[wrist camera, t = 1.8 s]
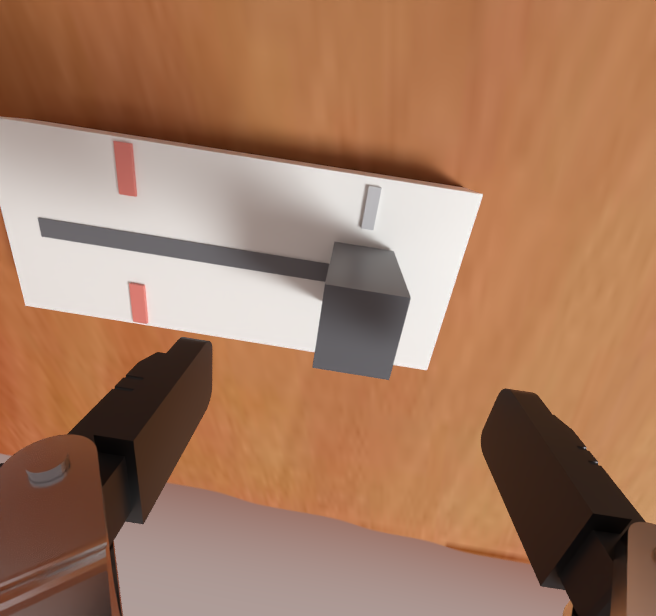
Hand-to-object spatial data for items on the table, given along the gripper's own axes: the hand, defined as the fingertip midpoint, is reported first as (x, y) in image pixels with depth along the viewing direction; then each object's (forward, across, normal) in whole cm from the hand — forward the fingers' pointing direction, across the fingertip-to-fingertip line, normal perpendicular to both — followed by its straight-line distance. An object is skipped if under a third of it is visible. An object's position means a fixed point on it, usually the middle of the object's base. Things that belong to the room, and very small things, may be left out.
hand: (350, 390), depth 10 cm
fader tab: (+9, 0, 0) cm, 9 cm away
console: (+13, +7, 0) cm, 14 cm away
